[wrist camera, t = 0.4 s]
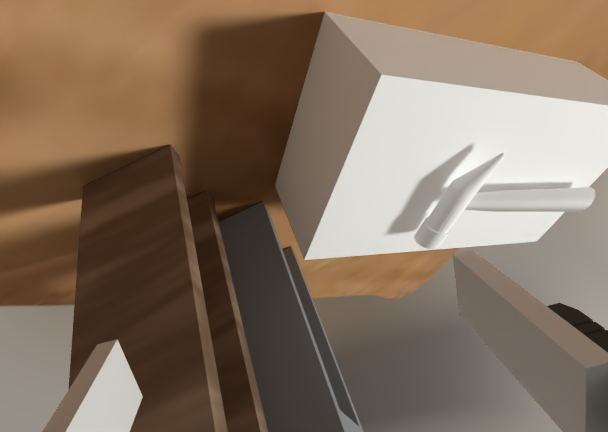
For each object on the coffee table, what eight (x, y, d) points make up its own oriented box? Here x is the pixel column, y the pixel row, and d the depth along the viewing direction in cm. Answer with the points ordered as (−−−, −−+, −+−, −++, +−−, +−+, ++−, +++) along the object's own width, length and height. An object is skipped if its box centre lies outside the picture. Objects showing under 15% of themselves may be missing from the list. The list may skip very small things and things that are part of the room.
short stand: (192, 234, 36) (244, 532, 22) (262, 201, 36) (361, 480, 21) (235, 279, 43) (295, 528, 29) (294, 252, 42) (385, 488, 28)
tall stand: (83, 186, 29) (34, 864, 11) (170, 144, 29) (268, 766, 11) (138, 234, 34) (167, 754, 16) (213, 199, 34) (328, 686, 16)
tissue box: (323, 9, 25) (402, 98, 18) (575, 60, 36) (688, 130, 29) (273, 183, 35) (314, 285, 28) (484, 184, 45) (552, 259, 38)
